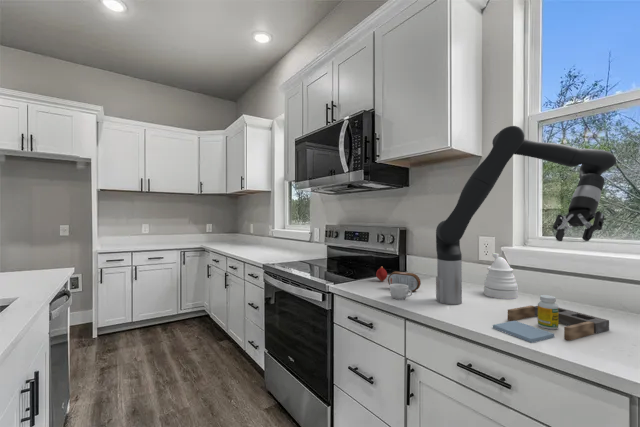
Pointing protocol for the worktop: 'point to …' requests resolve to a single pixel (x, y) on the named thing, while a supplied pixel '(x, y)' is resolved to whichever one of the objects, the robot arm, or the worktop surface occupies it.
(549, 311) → the supplement bottle
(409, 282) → the tin
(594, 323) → the channel
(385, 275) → the onion
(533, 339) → the pad
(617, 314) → the worktop surface
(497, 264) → the honey pot
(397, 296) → the teacup
